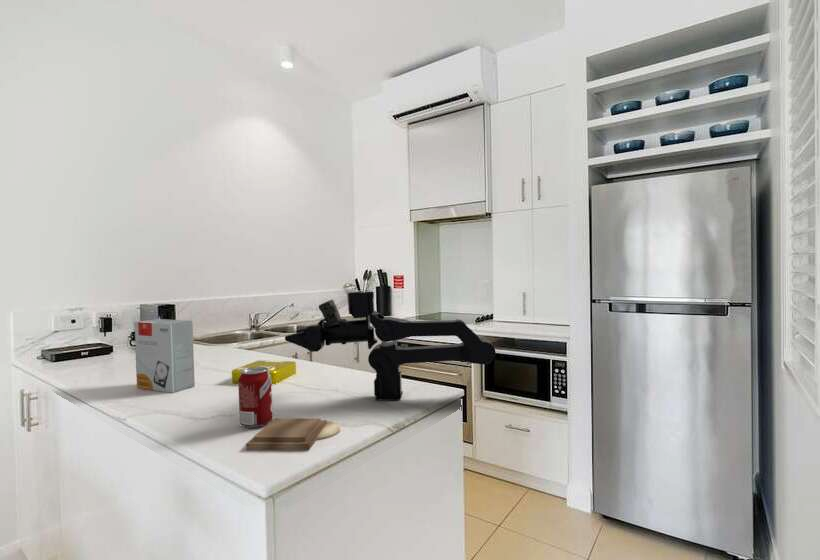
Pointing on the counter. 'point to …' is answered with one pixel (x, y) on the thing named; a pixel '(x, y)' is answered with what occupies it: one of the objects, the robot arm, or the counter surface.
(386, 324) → the robot arm
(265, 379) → the soda can
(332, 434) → the coaster
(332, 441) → the counter surface
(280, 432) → the brown flat square block
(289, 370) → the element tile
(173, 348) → the hard drive box
